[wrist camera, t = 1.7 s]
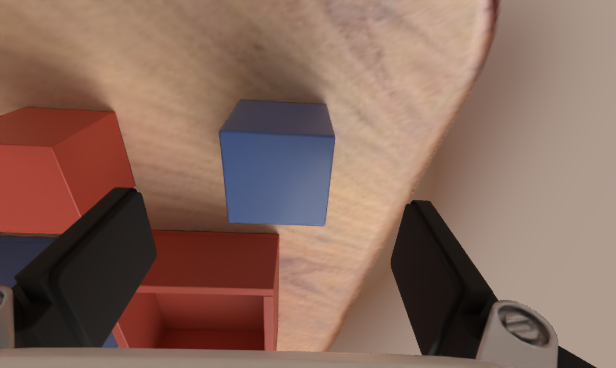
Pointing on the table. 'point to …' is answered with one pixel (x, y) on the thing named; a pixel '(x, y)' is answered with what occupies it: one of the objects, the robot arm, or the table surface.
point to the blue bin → (18, 254)
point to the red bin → (206, 294)
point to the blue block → (277, 163)
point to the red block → (57, 166)
